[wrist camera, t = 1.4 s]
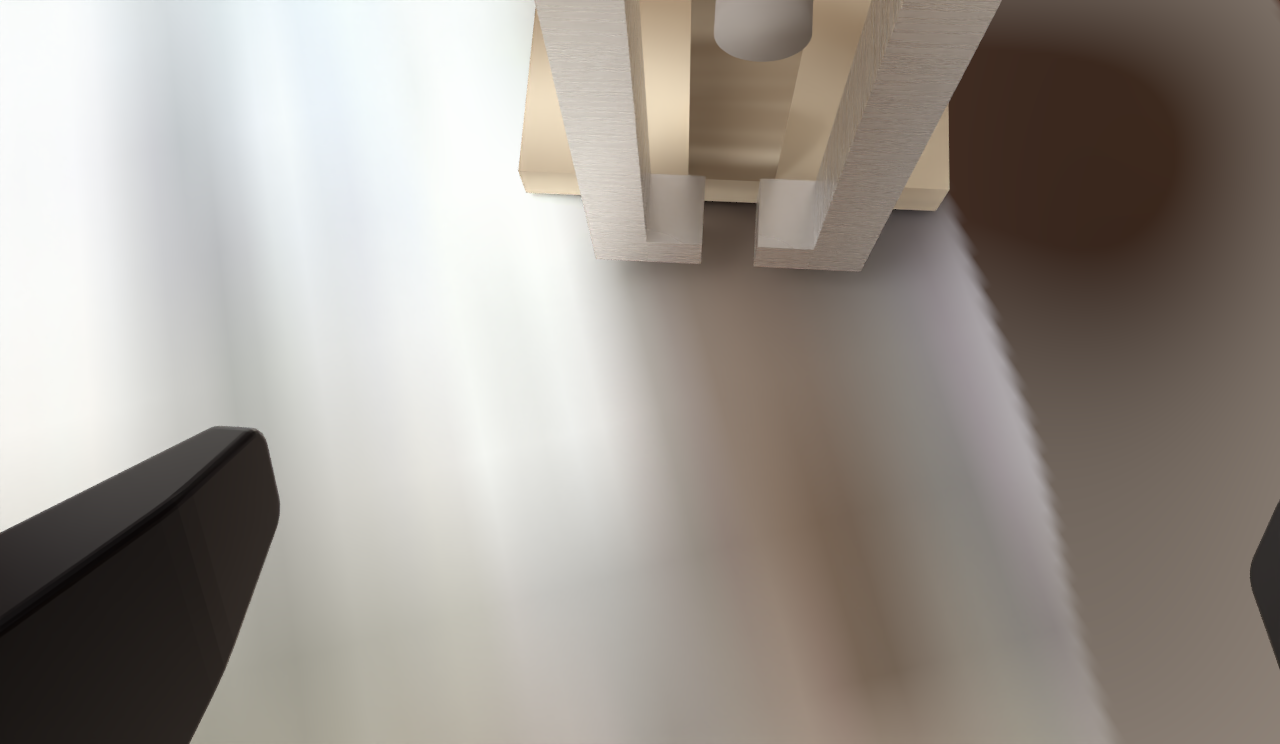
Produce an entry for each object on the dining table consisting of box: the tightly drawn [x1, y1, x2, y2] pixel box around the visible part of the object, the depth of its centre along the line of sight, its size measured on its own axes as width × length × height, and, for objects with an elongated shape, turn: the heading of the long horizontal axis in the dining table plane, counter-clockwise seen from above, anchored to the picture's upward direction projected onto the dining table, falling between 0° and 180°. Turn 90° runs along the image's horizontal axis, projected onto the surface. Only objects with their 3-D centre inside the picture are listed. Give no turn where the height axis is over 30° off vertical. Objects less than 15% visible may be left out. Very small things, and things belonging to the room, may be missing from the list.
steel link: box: [534, 0, 1001, 272], centre depth 16 cm, size 2×6×12 cm, turn 86°
